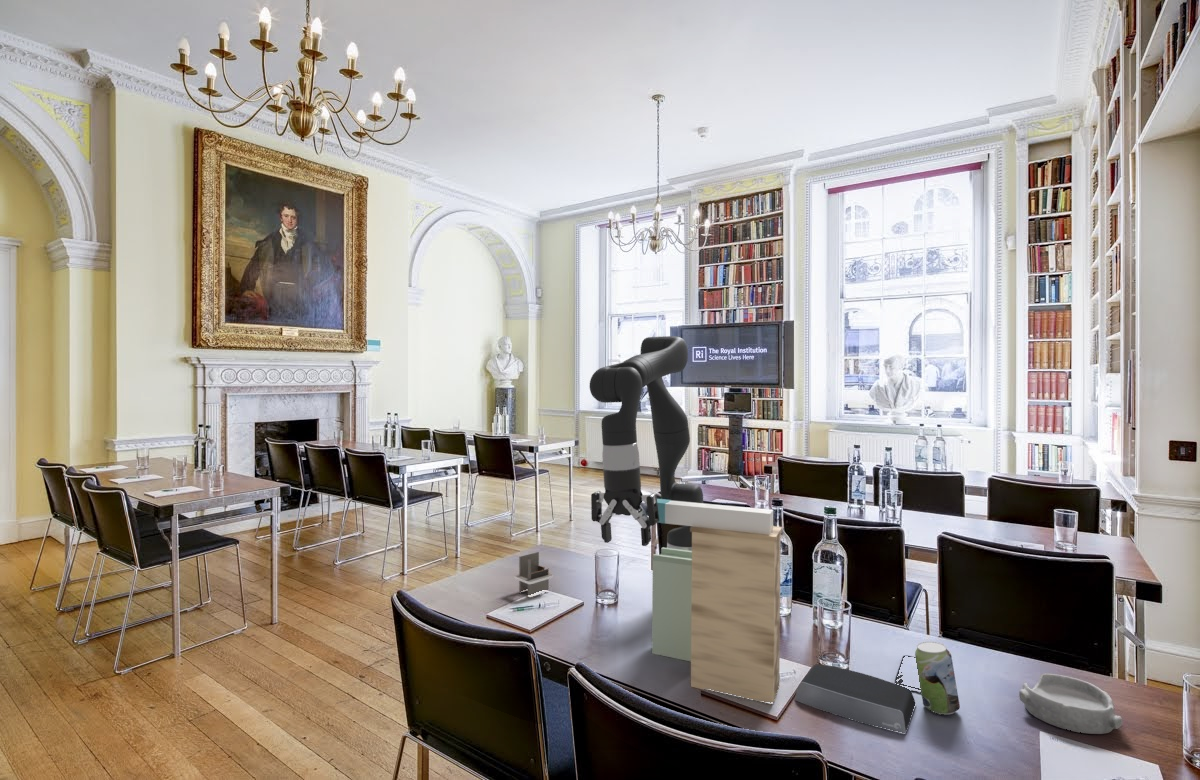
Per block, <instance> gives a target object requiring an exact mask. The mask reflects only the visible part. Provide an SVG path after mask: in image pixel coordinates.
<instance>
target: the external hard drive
mask: <svg viewBox="0 0 1200 780" xmlns="http://www.w3.org/2000/svg"><path fill="white" fill-rule="evenodd" d="M794 701H796V702H798V703H801V704H804V705H806V706H808V705H809V707H811V706H812V707H811V708H813V709H817V710H820V711H822V710H823V712H825V711H826V713H828V712H830V713H829V714H831V713H832V715H834V714H837V715H839V716H838V717H841V716H843V717H842V718H844V717H845V718H844V719H847V718H850V719H853V720H856V721H859V722H858V723H860V722H863V723H866V724H865V725H867V724H870V725H874V726H878V727H882V728H886V729H890V730H893V731H898V732H902V733H906V730H907V728H908V729H909V727H908V725H909V726H910V724H909V722H910V723H911V721H910V718H911V715H912V712H913V709H914V706H915V704H916V700H915V697H914V695H913V691H910V690H909V689H907V688H905V687H902V686H900V685H897V684H895V682H894V683H893V682H892V681H891V682H890V681H888V680H886V679H882V678H879V677H876V676H872V675H870V674H865V673H862V672H859V671H855V670H850V669H847V668H841V667H836V666H833V665H832V666H831V665H825V664H820V663H814V664H813V666H812V667H811V668H810V670H809V671H808V672H807V674H806V675H805V676H804V678H803V679H802V681H801V682H800V683H799V685H798V686H797V689H796V693H795V697H794ZM914 710H915V709H914ZM913 713H914V712H913ZM837 715H836V716H837ZM912 716H913V715H912ZM850 719H849V720H850ZM911 719H912V718H911ZM853 720H852V721H853ZM856 721H855V722H856ZM863 723H862V724H863ZM870 725H869V726H870ZM874 726H873V727H874ZM907 731H908V730H907ZM906 734H907V733H906Z"/></svg>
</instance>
